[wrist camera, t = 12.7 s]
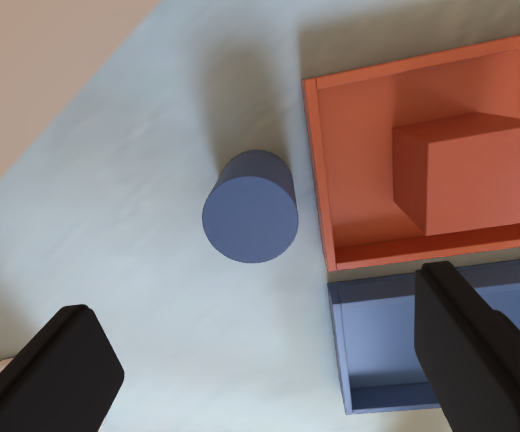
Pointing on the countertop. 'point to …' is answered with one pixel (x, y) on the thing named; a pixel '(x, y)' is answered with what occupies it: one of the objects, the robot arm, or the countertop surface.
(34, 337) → the robot arm
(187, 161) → the countertop surface
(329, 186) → the terracotta tray
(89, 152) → the countertop surface
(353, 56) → the countertop surface
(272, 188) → the blue cylinder
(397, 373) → the blue tray
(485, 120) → the block
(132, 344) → the countertop surface
